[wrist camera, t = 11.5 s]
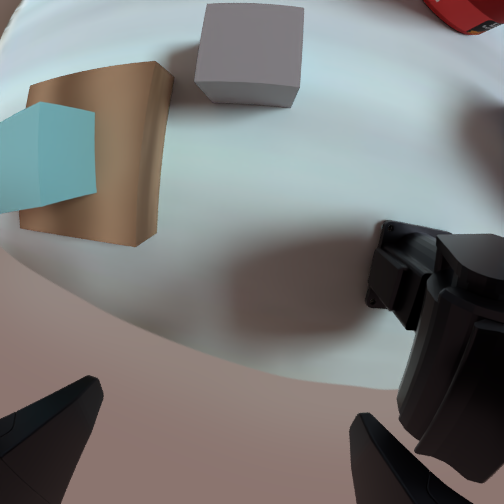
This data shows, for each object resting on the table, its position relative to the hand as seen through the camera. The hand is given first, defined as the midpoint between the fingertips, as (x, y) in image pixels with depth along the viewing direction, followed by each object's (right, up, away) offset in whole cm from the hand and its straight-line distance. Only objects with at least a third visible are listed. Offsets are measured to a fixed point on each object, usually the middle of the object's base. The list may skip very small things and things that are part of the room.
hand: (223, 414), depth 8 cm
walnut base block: (-10, +13, +10) cm, 19 cm away
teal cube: (-11, +11, +6) cm, 17 cm away
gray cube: (+1, +17, +7) cm, 19 cm away
